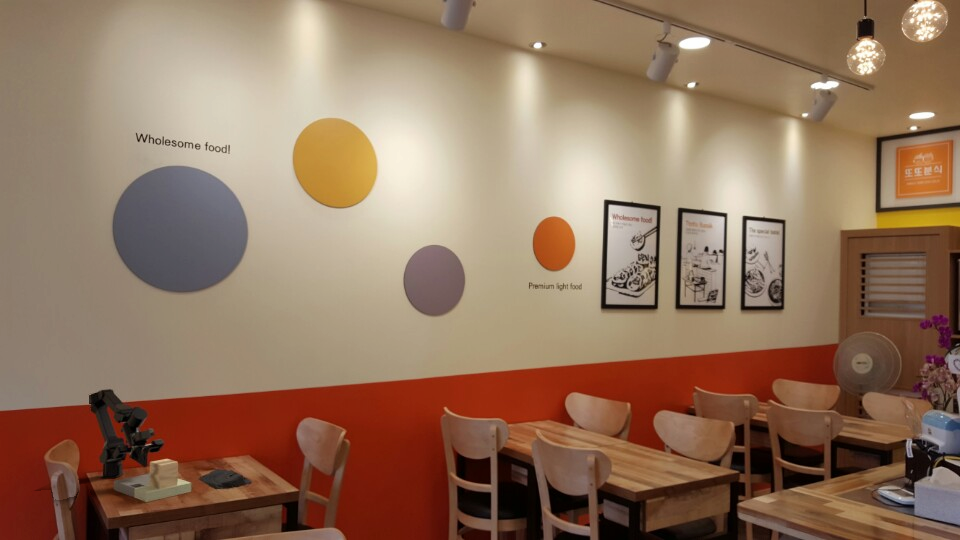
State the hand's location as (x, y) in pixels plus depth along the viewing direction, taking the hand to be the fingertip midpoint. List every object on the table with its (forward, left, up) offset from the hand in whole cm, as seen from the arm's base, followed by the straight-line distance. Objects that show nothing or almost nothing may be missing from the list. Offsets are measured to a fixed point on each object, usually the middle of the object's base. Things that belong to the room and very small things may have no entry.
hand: (145, 466), depth 284 cm
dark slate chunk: (+27, +13, -9) cm, 31 cm away
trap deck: (+5, -3, -9) cm, 10 cm away
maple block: (+11, -8, -5) cm, 14 cm away
